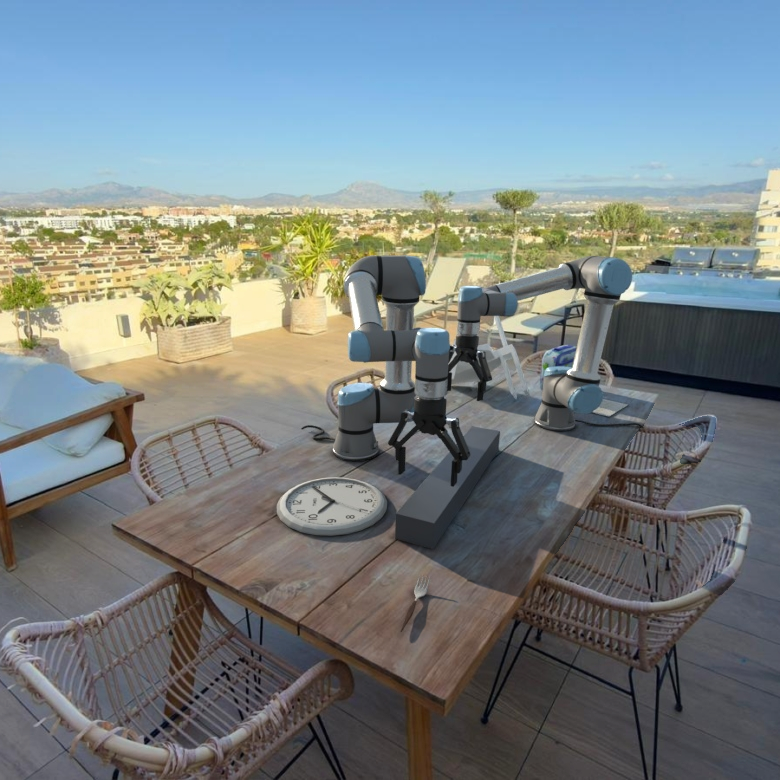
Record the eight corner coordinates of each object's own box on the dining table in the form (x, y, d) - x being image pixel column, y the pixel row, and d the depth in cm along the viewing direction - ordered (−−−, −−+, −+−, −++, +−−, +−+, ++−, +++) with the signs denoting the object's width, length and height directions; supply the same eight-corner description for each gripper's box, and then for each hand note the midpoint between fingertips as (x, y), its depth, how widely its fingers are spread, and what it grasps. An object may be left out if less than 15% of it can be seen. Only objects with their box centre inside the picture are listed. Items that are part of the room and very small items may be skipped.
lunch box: (556, 397, 237) (562, 352, 231) (535, 392, 244) (540, 348, 238) (583, 386, 255) (589, 344, 248) (562, 381, 262) (567, 340, 256)
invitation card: (608, 416, 214) (573, 407, 224) (608, 416, 214) (573, 408, 224) (628, 404, 229) (594, 396, 238) (628, 405, 229) (594, 397, 238)
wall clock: (392, 527, 129) (268, 531, 127) (391, 533, 130) (269, 537, 127) (383, 473, 158) (282, 475, 155) (383, 478, 158) (282, 480, 156)
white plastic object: (461, 429, 252) (437, 405, 227) (444, 352, 274) (420, 323, 250) (535, 404, 240) (518, 377, 215) (510, 326, 262) (492, 293, 237)
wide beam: (470, 444, 184) (471, 426, 182) (498, 449, 181) (500, 430, 178) (394, 538, 128) (395, 513, 126) (433, 549, 124) (434, 523, 122)
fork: (394, 632, 98) (394, 623, 98) (419, 581, 113) (419, 573, 112) (407, 636, 97) (407, 627, 97) (430, 584, 112) (431, 576, 111)
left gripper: (375, 392, 123) (374, 474, 129) (478, 408, 113) (472, 496, 120) (388, 384, 130) (387, 462, 136) (487, 398, 120) (481, 482, 126)
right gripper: (431, 329, 178) (428, 389, 184) (493, 341, 161) (487, 406, 167) (445, 327, 183) (441, 385, 189) (506, 338, 166) (500, 401, 172)
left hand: (427, 478), depth 128 cm, fingers open, 13 cm apart
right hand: (463, 395), depth 178 cm, fingers open, 13 cm apart
